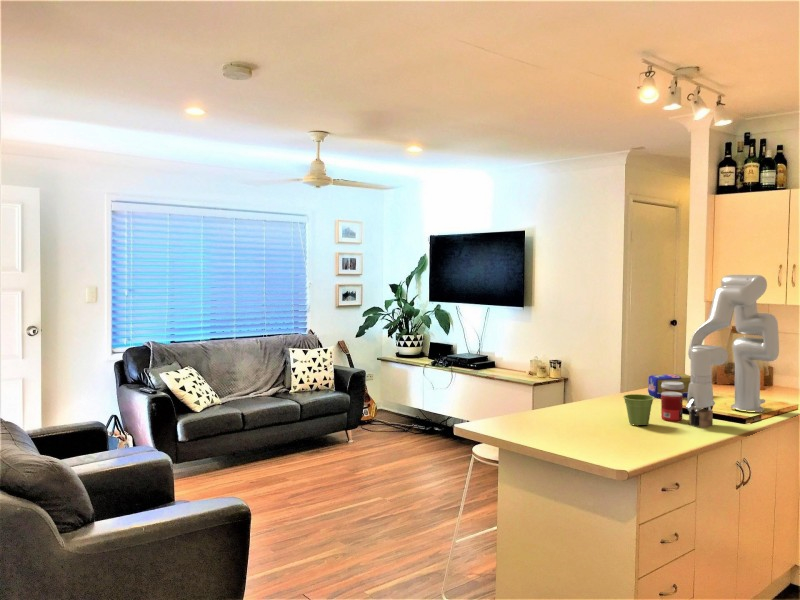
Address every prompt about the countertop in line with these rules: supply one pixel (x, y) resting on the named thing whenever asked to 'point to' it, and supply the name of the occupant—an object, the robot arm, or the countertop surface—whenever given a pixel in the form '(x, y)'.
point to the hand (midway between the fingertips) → (700, 423)
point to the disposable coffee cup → (672, 386)
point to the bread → (657, 380)
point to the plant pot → (638, 408)
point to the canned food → (671, 406)
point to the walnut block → (703, 418)
